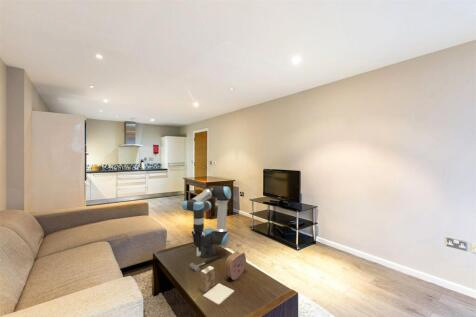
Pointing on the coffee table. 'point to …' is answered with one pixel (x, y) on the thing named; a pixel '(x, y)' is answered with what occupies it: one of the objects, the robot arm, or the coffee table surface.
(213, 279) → the wooden block
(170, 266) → the coffee table surface
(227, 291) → the felt mat
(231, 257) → the face sculpture
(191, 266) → the rubber mallet
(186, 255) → the coffee table surface
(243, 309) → the coffee table surface
